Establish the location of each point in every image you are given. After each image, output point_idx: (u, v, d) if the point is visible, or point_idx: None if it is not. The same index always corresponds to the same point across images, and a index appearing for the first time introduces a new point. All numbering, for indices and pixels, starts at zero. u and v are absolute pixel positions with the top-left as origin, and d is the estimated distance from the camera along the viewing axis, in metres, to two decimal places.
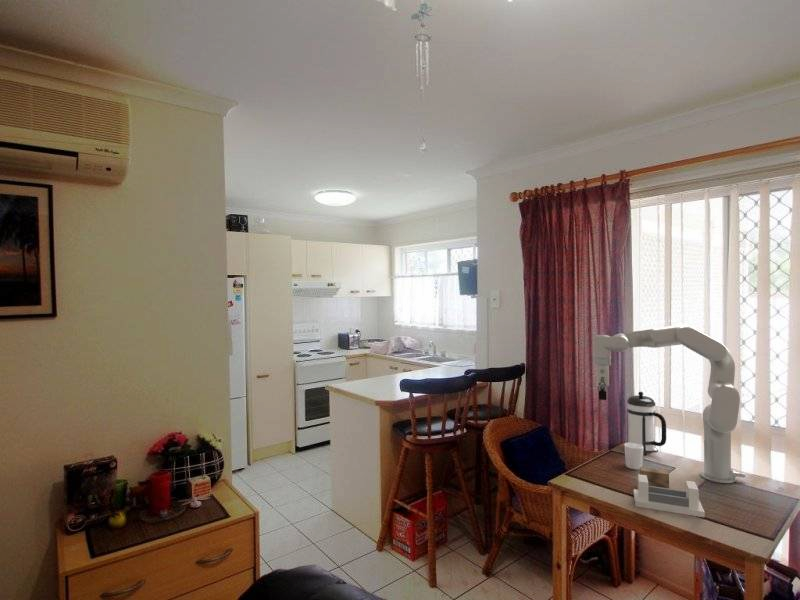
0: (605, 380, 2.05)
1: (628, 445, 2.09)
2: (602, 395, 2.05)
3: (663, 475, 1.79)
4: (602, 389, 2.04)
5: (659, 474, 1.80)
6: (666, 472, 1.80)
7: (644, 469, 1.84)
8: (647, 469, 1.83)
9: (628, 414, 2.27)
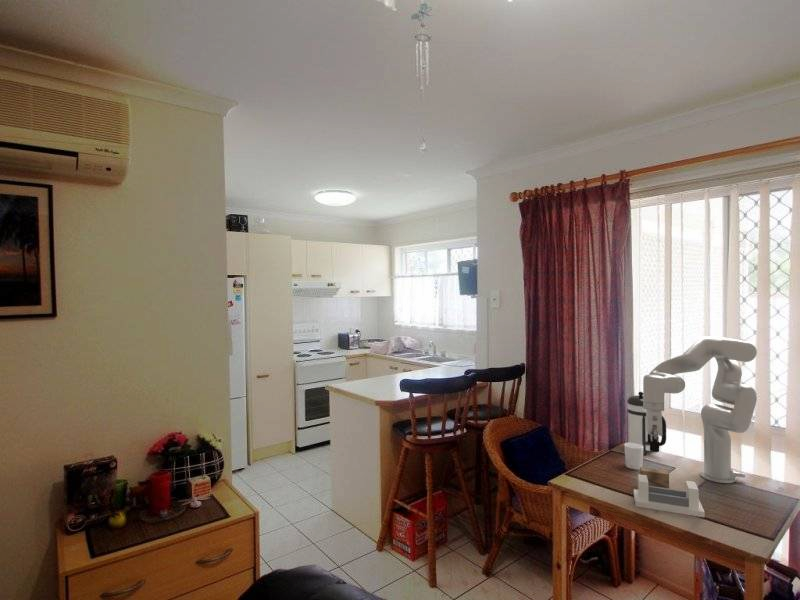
0: (658, 429, 1.77)
1: (628, 445, 2.09)
2: (654, 446, 1.77)
3: (663, 475, 1.79)
4: (655, 439, 1.76)
5: (659, 474, 1.80)
6: (666, 472, 1.80)
7: (644, 469, 1.84)
8: (647, 469, 1.83)
9: (628, 414, 2.27)
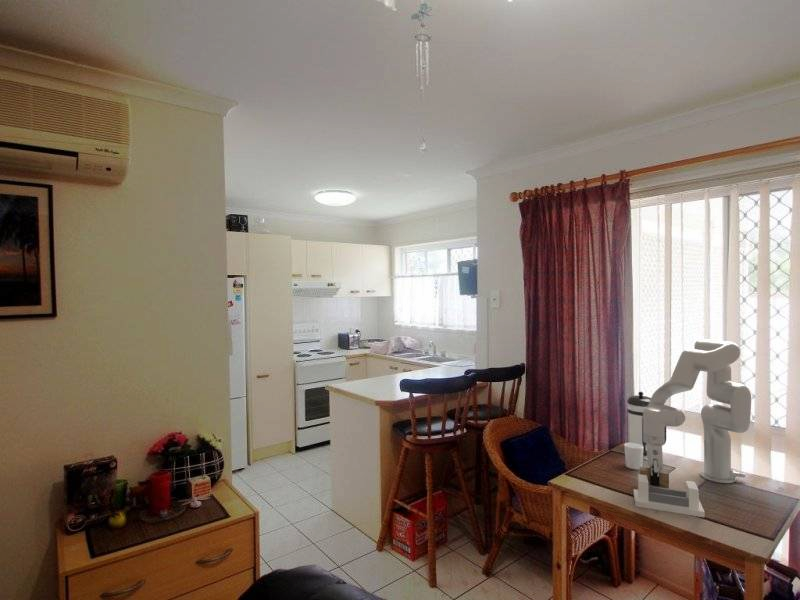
0: (659, 463, 1.77)
1: (628, 445, 2.09)
2: (654, 481, 1.79)
3: (663, 475, 1.79)
4: (655, 474, 1.78)
5: (659, 474, 1.80)
6: (666, 472, 1.80)
7: (644, 469, 1.84)
8: (647, 469, 1.83)
9: (628, 414, 2.27)
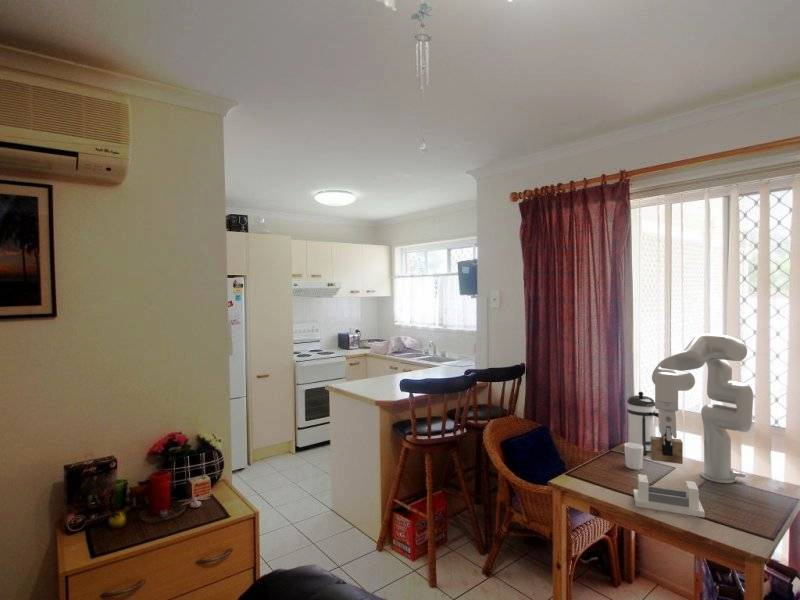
0: (672, 430, 1.64)
1: (628, 445, 2.09)
2: (667, 450, 1.66)
3: (676, 444, 1.66)
4: (668, 443, 1.65)
5: (672, 443, 1.66)
6: (679, 441, 1.67)
7: (655, 438, 1.70)
8: (658, 438, 1.70)
9: (628, 414, 2.27)
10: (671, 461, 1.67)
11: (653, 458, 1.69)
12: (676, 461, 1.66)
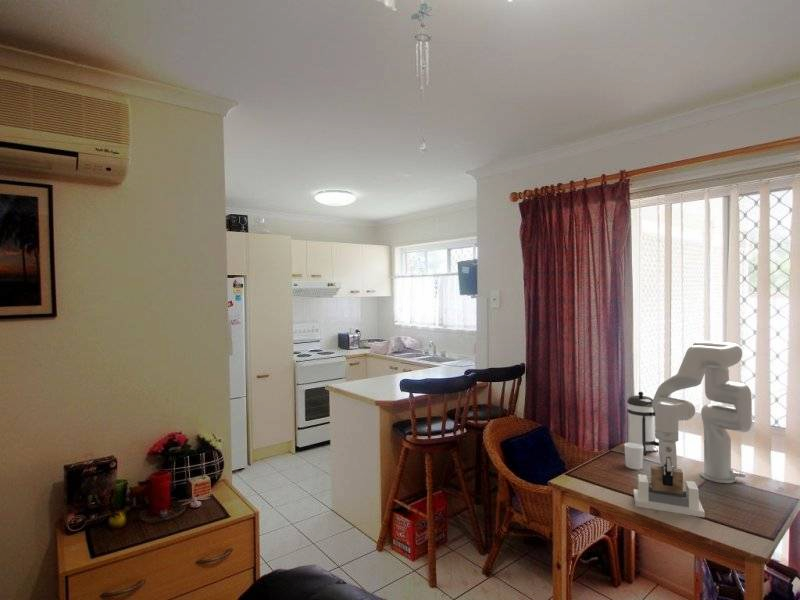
0: (672, 461, 1.64)
1: (628, 445, 2.09)
2: (668, 480, 1.66)
3: (677, 474, 1.66)
4: (668, 473, 1.65)
5: (672, 473, 1.67)
6: (680, 471, 1.67)
7: (656, 467, 1.70)
8: (659, 467, 1.70)
9: (628, 414, 2.27)
10: (671, 491, 1.67)
11: (653, 488, 1.69)
12: (676, 491, 1.66)
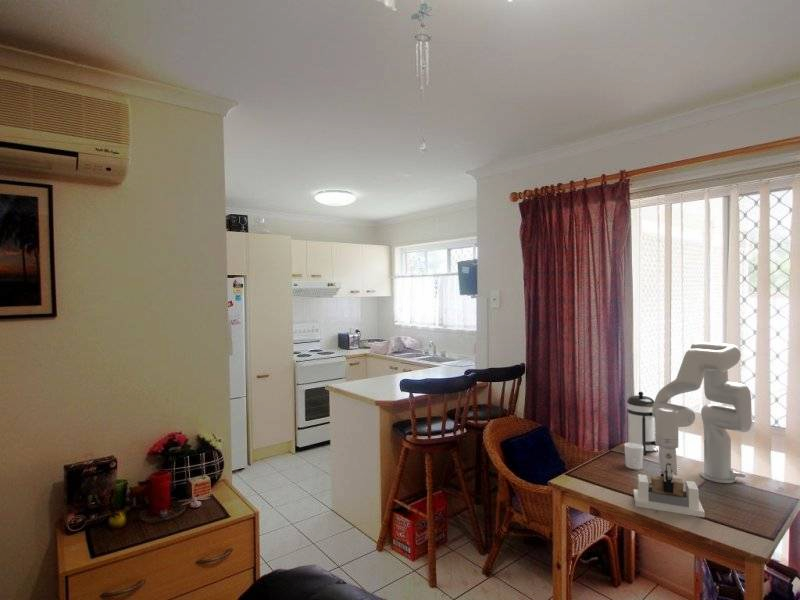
0: (672, 467, 1.64)
1: (628, 445, 2.09)
2: (668, 487, 1.65)
3: (677, 485, 1.66)
4: (669, 480, 1.64)
5: None
6: (680, 481, 1.67)
7: (656, 477, 1.70)
8: (659, 477, 1.70)
9: (628, 414, 2.27)
10: None
11: None
12: None
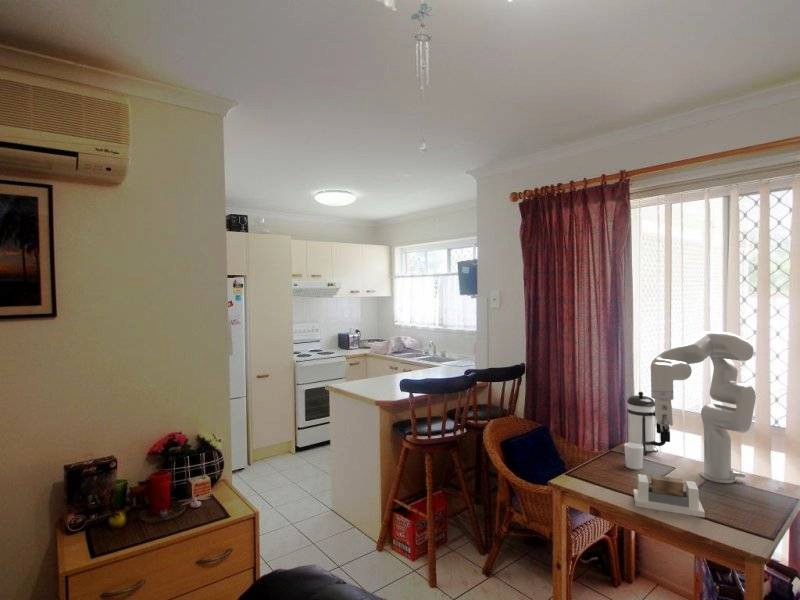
0: (668, 418, 1.70)
1: (628, 445, 2.09)
2: (665, 436, 1.70)
3: (677, 484, 1.66)
4: (665, 429, 1.69)
5: (672, 483, 1.67)
6: (680, 481, 1.67)
7: (656, 477, 1.70)
8: (659, 477, 1.70)
9: (628, 414, 2.27)
10: None
11: None
12: None
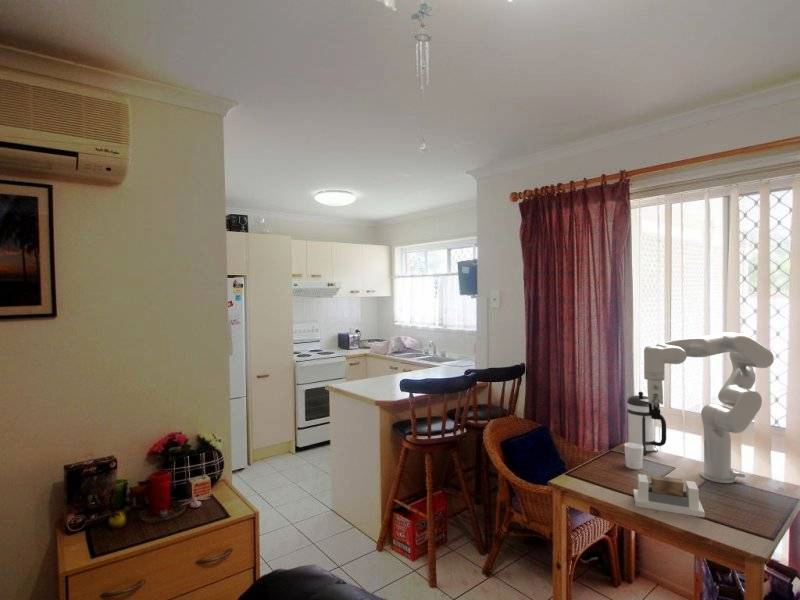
0: (659, 397, 1.83)
1: (628, 445, 2.09)
2: (656, 414, 1.83)
3: (677, 484, 1.66)
4: (656, 407, 1.82)
5: (672, 483, 1.67)
6: (680, 481, 1.67)
7: (656, 477, 1.70)
8: (659, 477, 1.70)
9: (628, 414, 2.27)
10: None
11: None
12: None
